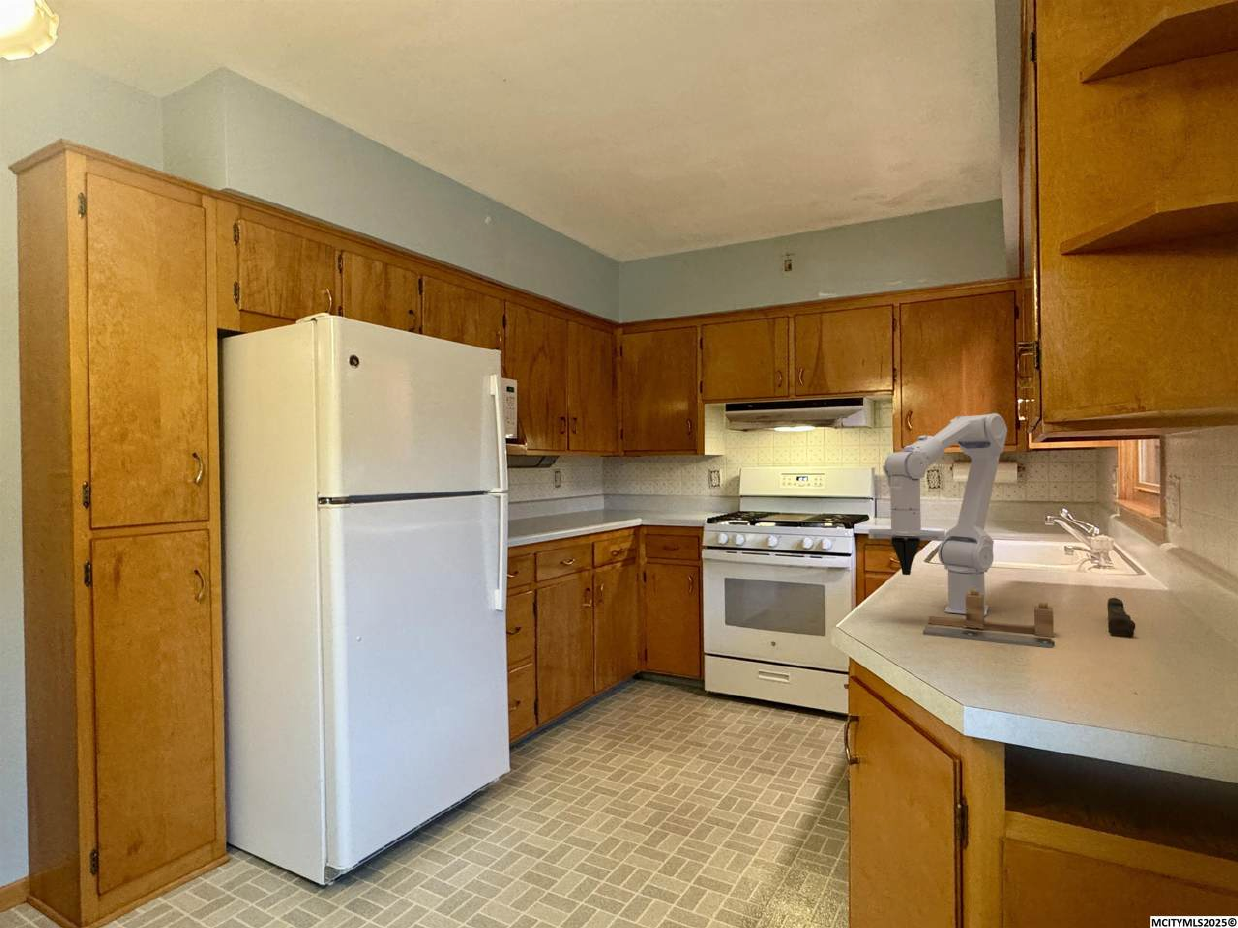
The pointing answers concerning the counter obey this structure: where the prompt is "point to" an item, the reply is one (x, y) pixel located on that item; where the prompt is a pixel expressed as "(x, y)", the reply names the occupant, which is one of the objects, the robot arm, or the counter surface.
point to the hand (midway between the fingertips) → (906, 574)
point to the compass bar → (1040, 628)
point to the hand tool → (1119, 620)
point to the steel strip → (990, 636)
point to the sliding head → (975, 609)
